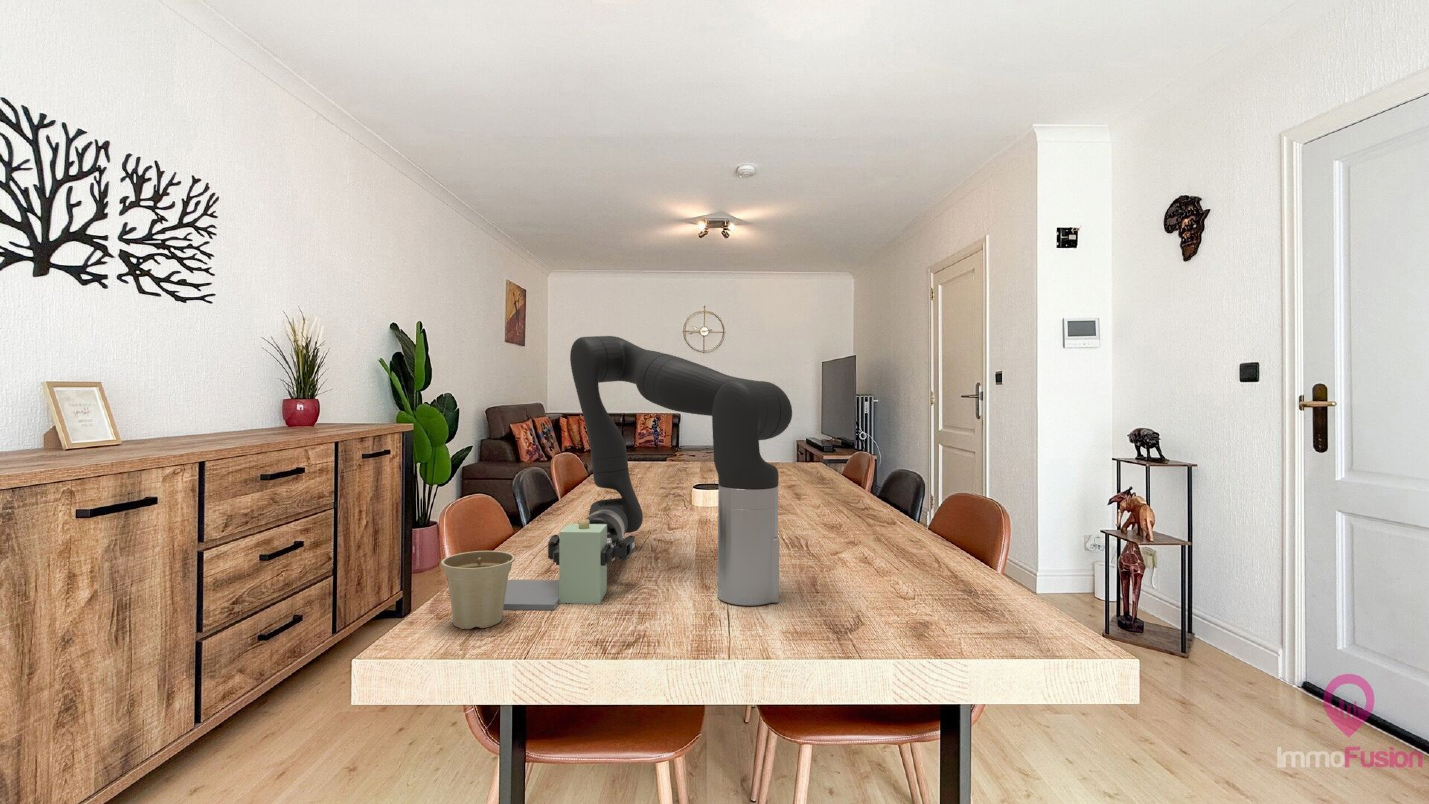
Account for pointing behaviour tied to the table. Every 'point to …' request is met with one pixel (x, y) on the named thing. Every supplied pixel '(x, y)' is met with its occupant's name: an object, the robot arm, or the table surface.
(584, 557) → the sage green tall block
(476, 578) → the flower pot
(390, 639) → the table surface
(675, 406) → the robot arm
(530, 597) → the slate coaster
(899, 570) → the table surface
